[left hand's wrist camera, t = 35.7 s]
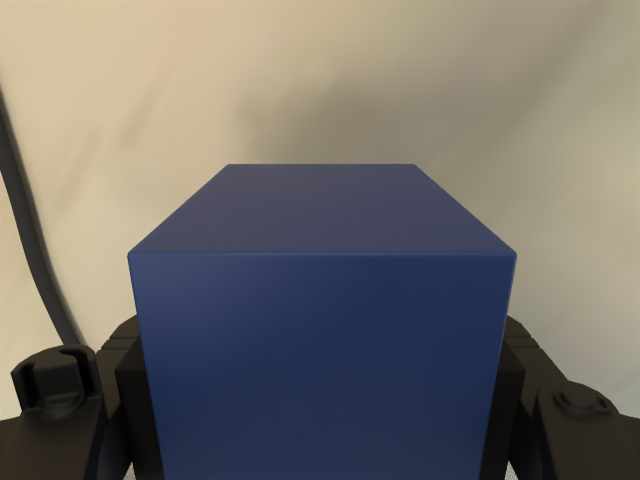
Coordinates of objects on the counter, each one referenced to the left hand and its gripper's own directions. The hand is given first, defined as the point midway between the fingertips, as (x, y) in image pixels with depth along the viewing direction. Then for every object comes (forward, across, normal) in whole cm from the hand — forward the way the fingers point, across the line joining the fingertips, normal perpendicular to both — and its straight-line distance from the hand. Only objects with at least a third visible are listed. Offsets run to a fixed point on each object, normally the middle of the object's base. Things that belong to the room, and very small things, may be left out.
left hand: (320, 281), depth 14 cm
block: (+1, 0, 0) cm, 1 cm away
